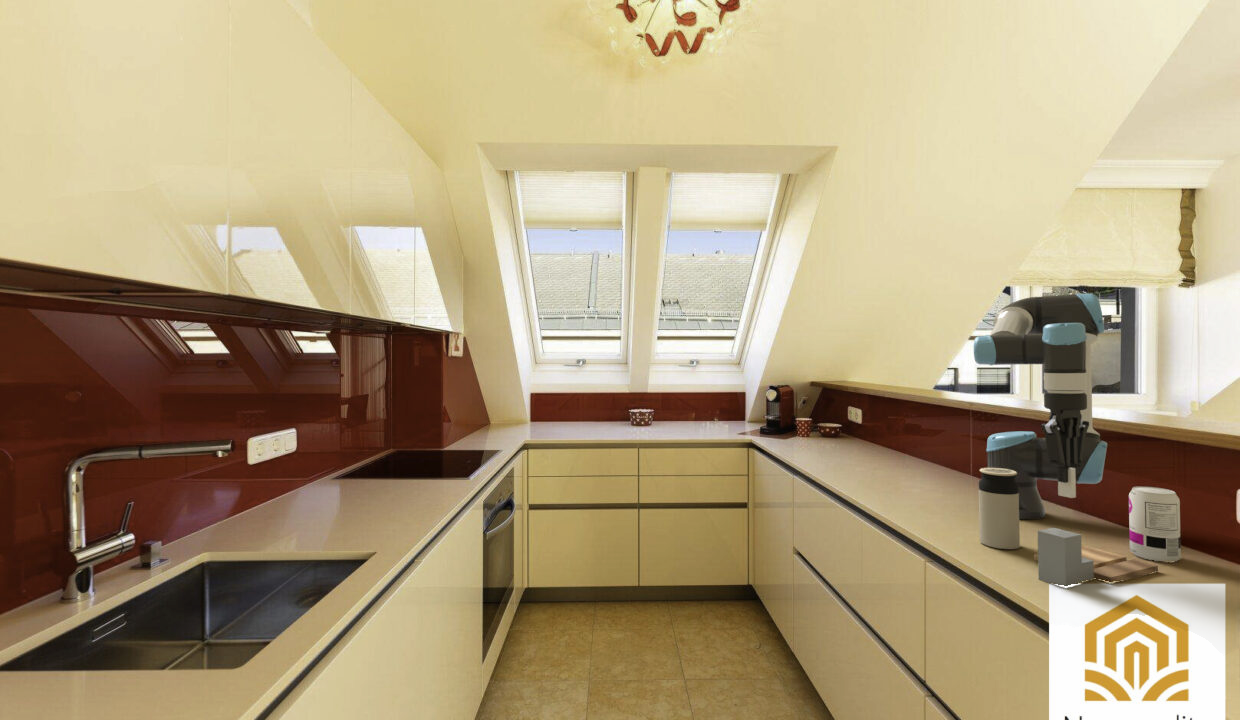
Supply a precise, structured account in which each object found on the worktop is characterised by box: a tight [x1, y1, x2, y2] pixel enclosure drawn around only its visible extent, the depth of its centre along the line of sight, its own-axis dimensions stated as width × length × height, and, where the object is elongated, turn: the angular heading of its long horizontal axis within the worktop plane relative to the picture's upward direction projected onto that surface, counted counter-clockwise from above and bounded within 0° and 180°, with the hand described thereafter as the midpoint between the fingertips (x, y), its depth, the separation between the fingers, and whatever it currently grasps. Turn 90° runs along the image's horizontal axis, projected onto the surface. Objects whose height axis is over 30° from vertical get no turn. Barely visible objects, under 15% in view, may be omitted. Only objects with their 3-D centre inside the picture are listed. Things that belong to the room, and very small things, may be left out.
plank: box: [1033, 544, 1128, 569], centre depth 121 cm, size 16×9×1 cm, turn 111°
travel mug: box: [978, 467, 1021, 551], centre depth 133 cm, size 8×8×18 cm
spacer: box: [1037, 527, 1095, 586], centre depth 111 cm, size 10×5×10 cm, turn 110°
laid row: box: [1094, 558, 1159, 582], centre depth 114 cm, size 16×5×1 cm, turn 111°
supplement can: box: [1128, 486, 1182, 563], centre depth 123 cm, size 8×8×15 cm
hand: (1067, 496), depth 123 cm, fingers closed
